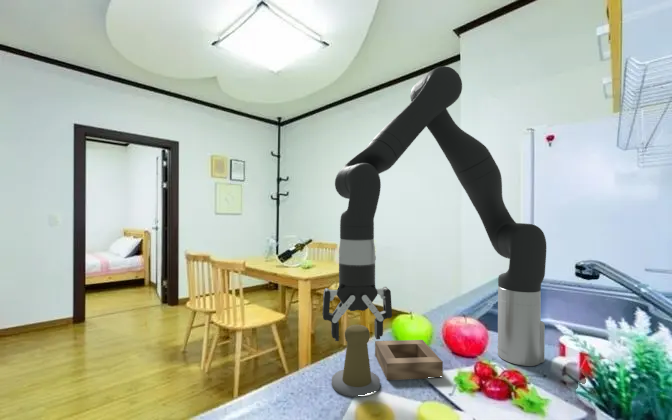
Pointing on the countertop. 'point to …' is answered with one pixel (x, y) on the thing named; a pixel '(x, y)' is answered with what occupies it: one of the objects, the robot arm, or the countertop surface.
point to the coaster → (354, 391)
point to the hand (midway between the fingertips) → (357, 338)
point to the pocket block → (407, 360)
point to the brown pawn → (357, 357)
